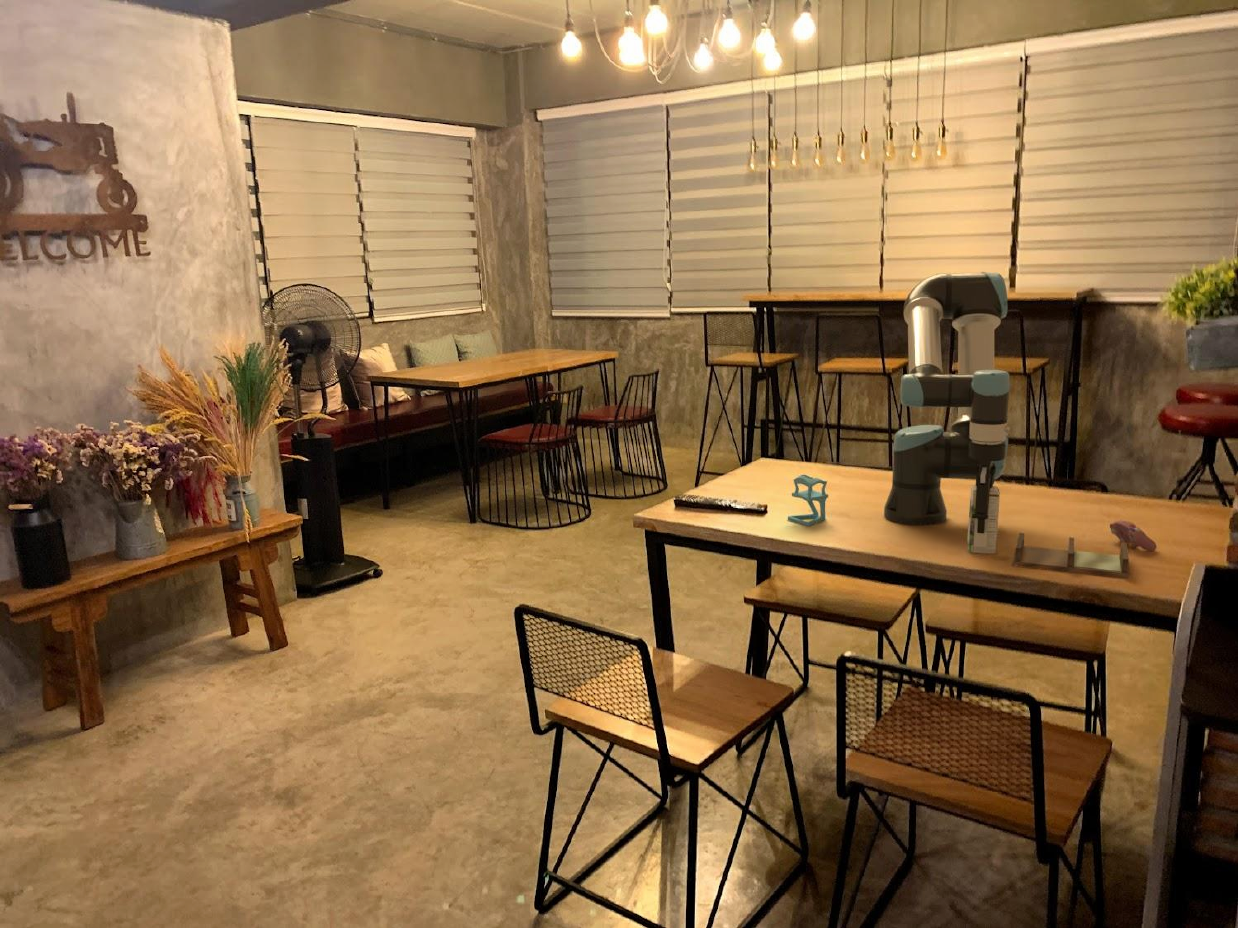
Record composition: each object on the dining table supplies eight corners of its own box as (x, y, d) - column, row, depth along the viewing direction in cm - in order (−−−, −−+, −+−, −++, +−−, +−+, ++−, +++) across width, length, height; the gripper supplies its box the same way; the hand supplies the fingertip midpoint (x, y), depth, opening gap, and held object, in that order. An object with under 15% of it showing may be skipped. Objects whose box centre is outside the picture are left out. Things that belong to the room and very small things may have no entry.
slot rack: (1012, 565, 195) (1013, 547, 194) (1016, 549, 205) (1017, 532, 204) (1129, 578, 185) (1131, 559, 184) (1127, 560, 196) (1129, 542, 195)
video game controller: (1113, 546, 210) (1102, 521, 209) (1131, 536, 210) (1120, 511, 209) (1141, 559, 201) (1130, 533, 199) (1160, 549, 201) (1149, 523, 199)
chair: (832, 521, 232) (833, 475, 229) (807, 526, 228) (808, 479, 225) (811, 514, 238) (812, 470, 236) (787, 519, 234) (787, 474, 232)
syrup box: (966, 545, 209) (969, 484, 206) (993, 546, 208) (997, 484, 205) (968, 553, 204) (971, 490, 201) (996, 554, 202) (1000, 491, 199)
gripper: (1002, 450, 190) (996, 556, 195) (1009, 434, 207) (1003, 531, 212) (964, 448, 194) (958, 552, 199) (974, 432, 210) (969, 528, 215)
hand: (981, 541), depth 205 cm, fingers closed on syrup box, 6 cm apart
